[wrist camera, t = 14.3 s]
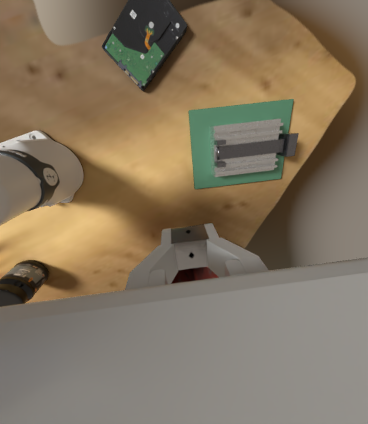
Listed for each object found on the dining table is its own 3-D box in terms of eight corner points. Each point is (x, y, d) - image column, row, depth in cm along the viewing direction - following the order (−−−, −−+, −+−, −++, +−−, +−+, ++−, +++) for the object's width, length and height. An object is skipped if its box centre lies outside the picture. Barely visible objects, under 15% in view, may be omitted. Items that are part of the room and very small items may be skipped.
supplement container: (29, 283, 61) (-1, 316, 50) (9, 262, 56) (-29, 293, 45) (56, 277, 60) (32, 309, 50) (39, 255, 56) (8, 285, 45)
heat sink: (211, 173, 47) (217, 180, 41) (209, 126, 42) (217, 125, 36) (277, 165, 48) (294, 170, 41) (284, 118, 42) (305, 115, 36)
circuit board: (194, 188, 50) (194, 189, 49) (188, 110, 41) (188, 110, 40) (278, 177, 50) (280, 178, 49) (290, 99, 42) (293, 99, 41)
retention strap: (215, 158, 42) (217, 159, 41) (215, 146, 41) (217, 146, 39) (277, 151, 43) (283, 152, 41) (279, 138, 42) (285, 139, 40)
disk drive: (147, -21, 32) (104, 53, 35) (145, -34, 29) (100, 46, 33) (186, 32, 35) (144, 93, 39) (188, 24, 33) (142, 90, 36)
